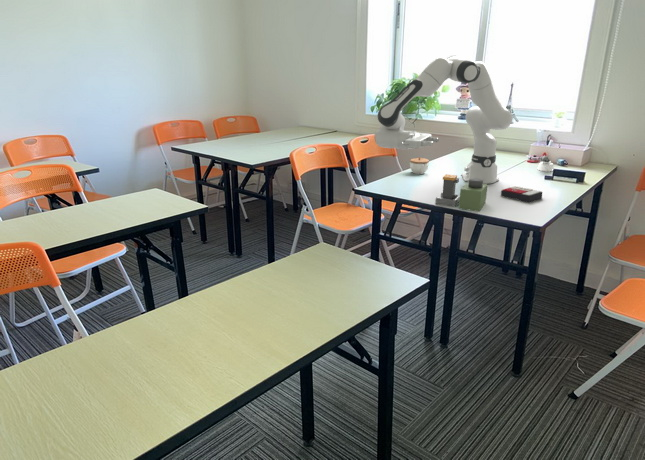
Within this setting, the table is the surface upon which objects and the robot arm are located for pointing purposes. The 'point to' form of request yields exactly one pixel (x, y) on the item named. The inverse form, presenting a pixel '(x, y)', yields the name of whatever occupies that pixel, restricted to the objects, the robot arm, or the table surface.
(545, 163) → the inkwell
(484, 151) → the robot arm
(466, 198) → the green box
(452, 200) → the bracket
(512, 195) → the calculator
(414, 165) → the lidded jar
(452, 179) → the grey orange-topped box
